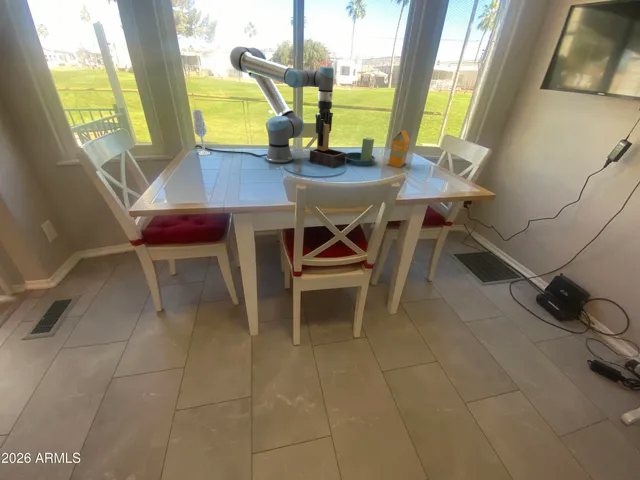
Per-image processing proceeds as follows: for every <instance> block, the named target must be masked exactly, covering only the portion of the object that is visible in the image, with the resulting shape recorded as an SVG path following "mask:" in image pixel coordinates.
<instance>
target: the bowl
mask: <svg viewBox="0 0 640 480" xmlns="http://www.w3.org/2000/svg"><path fill="white" fill-rule="evenodd" d="M345 153H346V156H345V163H344V164H347V165H349V166H355V167H371V166H373V165H375V163H376V157H375V156H374V155H373V154H372V157H371V160H370V161H360V159H361V152H360V151H359V152H356V151H352V152H345Z"/></svg>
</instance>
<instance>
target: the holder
mask: <svg viewBox="0 0 640 480" xmlns="http://www.w3.org/2000/svg"><path fill="white" fill-rule="evenodd" d="M346 153H347V152H345V151H340V150H336V149H332V148H329V147H328V150H326V151H322V150H318V149H317V147H315V148H312V149H310V150H309V162H310V163H315V164H318V165H320V166H321V165H322V166H324V167H327V168H332V169H335V168H336V167H339V166H341V165H344V164H346V163H345V156H346Z"/></svg>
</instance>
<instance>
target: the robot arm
mask: <svg viewBox="0 0 640 480" xmlns="http://www.w3.org/2000/svg"><path fill="white" fill-rule="evenodd" d="M229 54H230V55H229V61H230V64H231V66H232V67H233V68H234V69H235V70H236V71H237V72H241V73H245V74H247V75H248V76H249V78H250V79H251V80H253V81H255V83H256V85H257V86H258V88H259V89H260V91H261V92H262V95H263V96H264V98H265V100H266V101H267V103H268V105H269V106H270V108H271V110H272V111H273V112H274V114H275V115H274V116H271V117H269V118H268V120H267V133H268V135H267V136H268V149H267V153H264V154H256V153H254V152H249V151H236V150H235V151H234V150H219V149H214V148H208V147H205V150H206V151H211V152H218V153H229V154H246V155H252V156H254V157H257V158H259V157H266V158H265V159H266V161H267V162H269V163H272V164H288V163H291V162H292V161H293V155H292V152H291V148H290V140H291V139H294V138H297V137H299V136H301V135H302V134H303V132H304V130H305V123H304V119H303V118H302V117H300V116H299V115H296V113H295V111H294V110H293V109H291V108H290V107H289V106H288V105H287V102H286V100H285V99H284V98H283V96H282V94H281V93H280V91H279V89H278V87H277V86H276V84H275V82H274V81H276V82H280V83H282V84H285V85H287V86H288V87H290V88H294V89H297V88H318V92H317V93H318V94H317V95H318V96H317V99H318V101H317V108H318V109H319V110H318V113H315V133H316V134H317V145H318V146H323V134H322V132H323V125H324V124H330V128H329V134H330V133H331V132H332V125H333V116H334V113H333V112H331V110H332V109H333V102H332V101H333V90H334V79H335V77H334V75H335V72H334V71H335V70H334V68H333V67H332V66H319V69H318V70H311V69H310V70H308V69H296V68H294V67H290V66H287V65H283V64H280V63H277V62H274V61H271V60H267V57H266V55H265V54H264V52H263V51H262V50H260V49H259V48H256V47H247V46H236V47H233V49H232V50H231V51H230V53H229ZM194 148H200V149H203V148H202V145H200V144H197V145H195V146H194Z"/></svg>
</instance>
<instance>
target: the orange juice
mask: <svg viewBox="0 0 640 480" xmlns="http://www.w3.org/2000/svg"><path fill="white" fill-rule="evenodd" d="M410 142H411V139H410V137H409V134H408V132H407V129H402V130H401V131H399V133H398V134H397V135H395V137H394V138H393V139H392V143H391V148H390V151H389V152H390V153H389V159H388V164H387V165H388V166H393V167H398V168H401V167H402V166H404V165H405V164H406V160H407V155H408V151H409V146H410Z"/></svg>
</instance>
